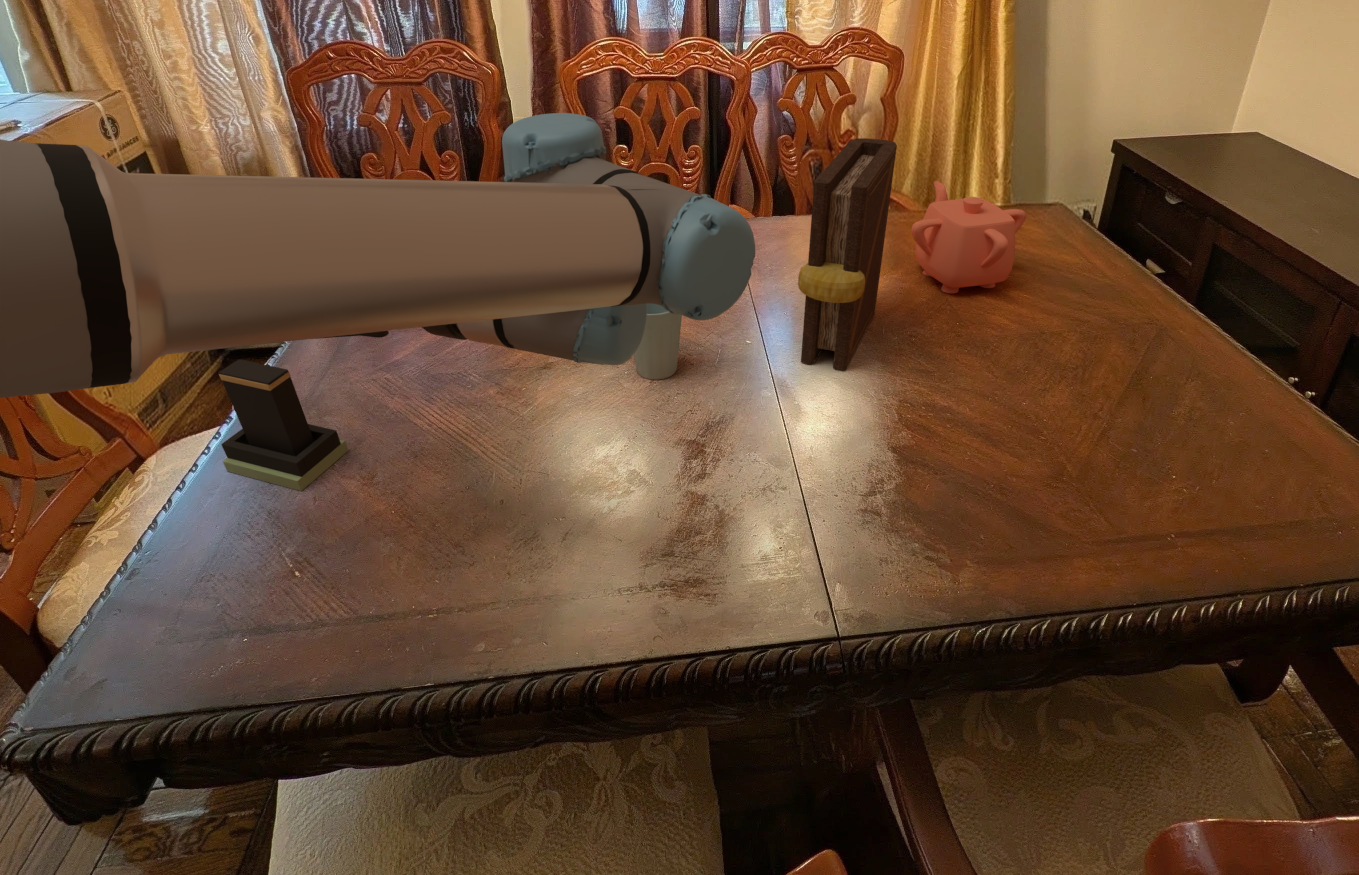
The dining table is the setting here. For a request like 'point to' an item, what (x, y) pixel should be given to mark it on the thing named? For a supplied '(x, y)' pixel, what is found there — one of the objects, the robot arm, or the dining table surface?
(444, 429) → the dining table surface
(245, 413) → the dark brown banded block
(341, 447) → the black and green tray
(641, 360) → the cup
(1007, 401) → the dining table surface
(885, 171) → the book
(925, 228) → the teapot
